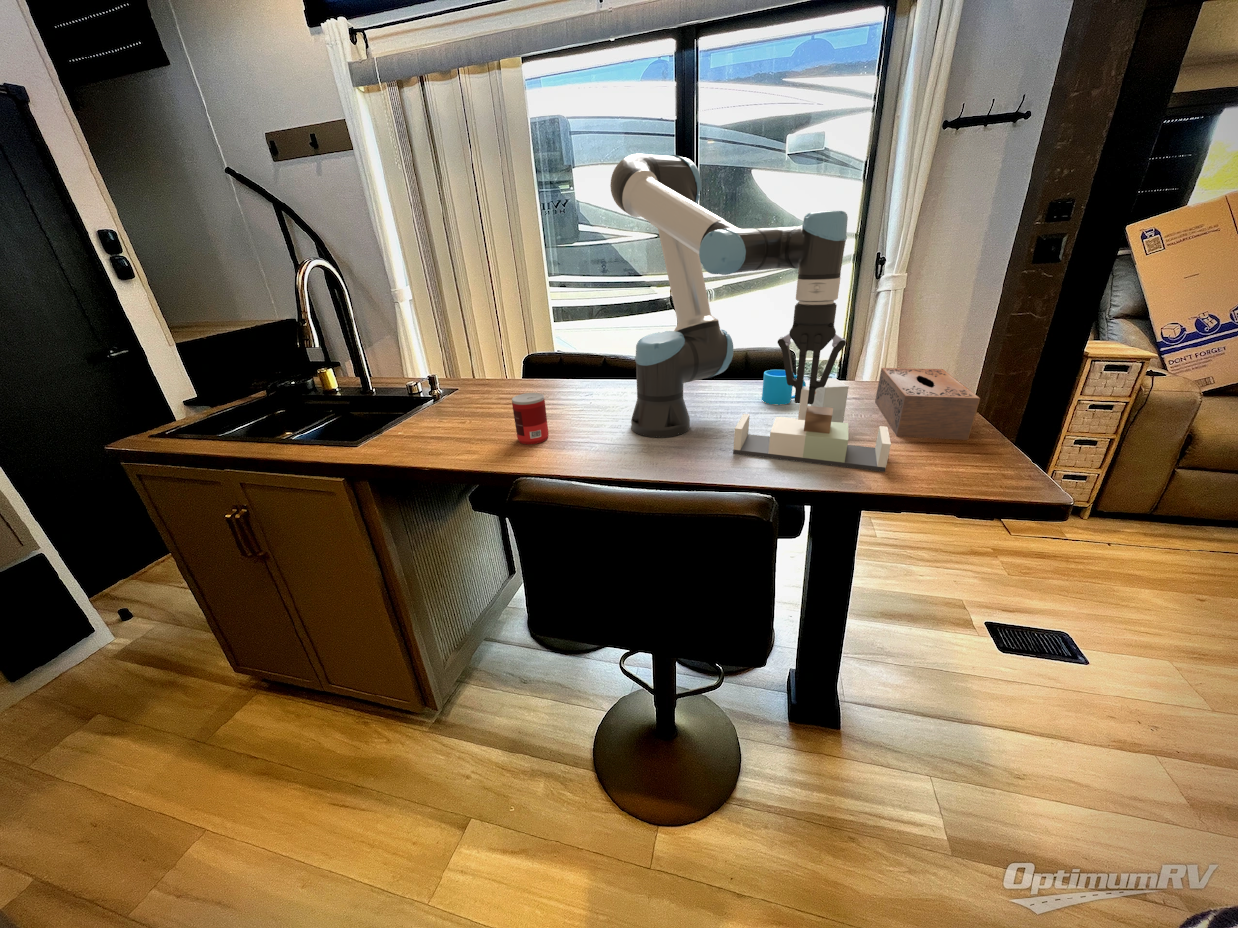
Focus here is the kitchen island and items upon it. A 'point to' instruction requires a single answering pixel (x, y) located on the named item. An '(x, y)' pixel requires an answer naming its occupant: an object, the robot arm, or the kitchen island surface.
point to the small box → (832, 398)
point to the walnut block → (818, 419)
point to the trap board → (850, 459)
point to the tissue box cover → (926, 403)
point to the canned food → (530, 418)
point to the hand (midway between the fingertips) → (802, 417)
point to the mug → (777, 387)
